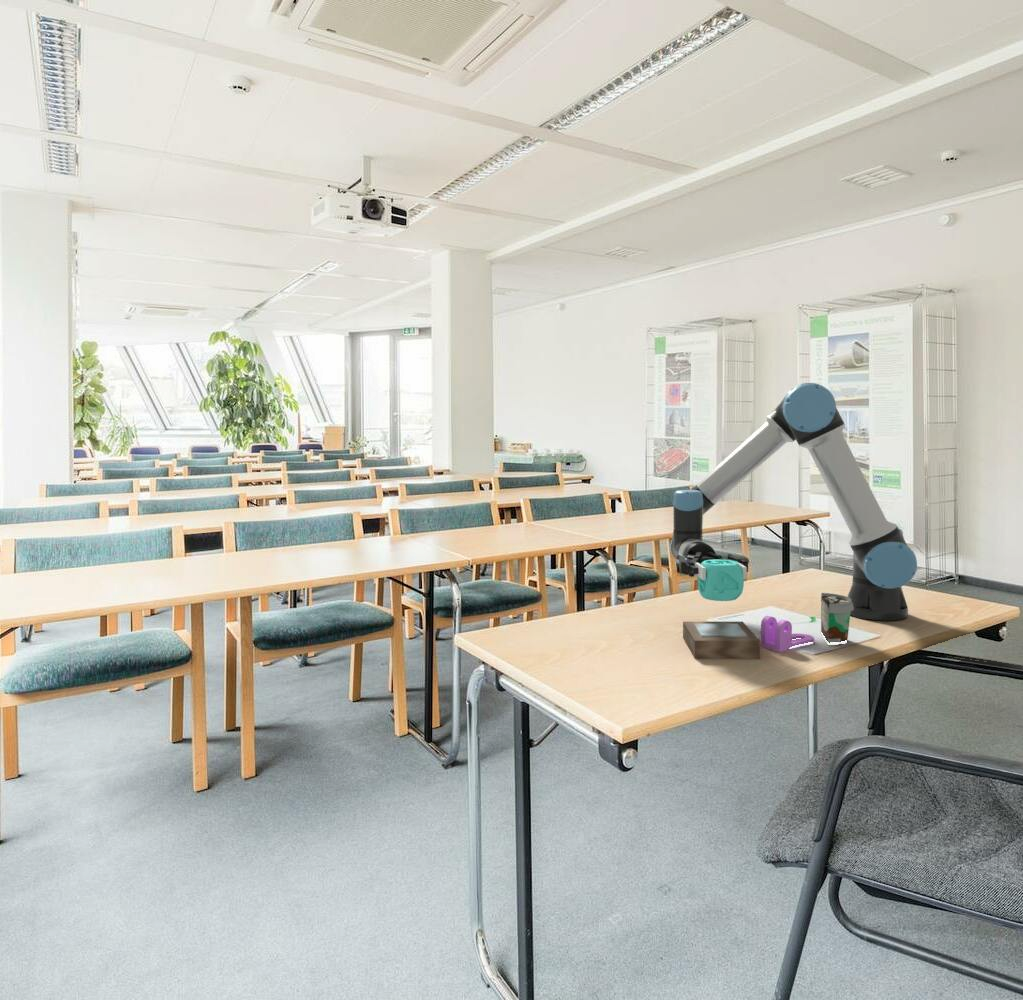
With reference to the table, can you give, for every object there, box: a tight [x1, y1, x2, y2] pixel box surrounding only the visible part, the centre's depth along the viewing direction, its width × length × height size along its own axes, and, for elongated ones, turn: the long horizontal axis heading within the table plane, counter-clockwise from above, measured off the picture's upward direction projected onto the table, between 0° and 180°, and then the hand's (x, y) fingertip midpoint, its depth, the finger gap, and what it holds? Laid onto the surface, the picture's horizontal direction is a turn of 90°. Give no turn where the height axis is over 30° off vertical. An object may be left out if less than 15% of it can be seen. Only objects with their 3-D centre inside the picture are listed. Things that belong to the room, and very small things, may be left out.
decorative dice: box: [696, 559, 745, 602], centre depth 171 cm, size 8×8×8 cm
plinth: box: [682, 621, 761, 660], centre depth 172 cm, size 14×16×4 cm
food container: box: [820, 592, 854, 643], centre depth 176 cm, size 12×6×10 cm, turn 166°
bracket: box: [760, 615, 815, 653], centre depth 174 cm, size 13×6×7 cm, turn 119°
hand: (724, 573), depth 168 cm, fingers closed on decorative dice, 8 cm apart
